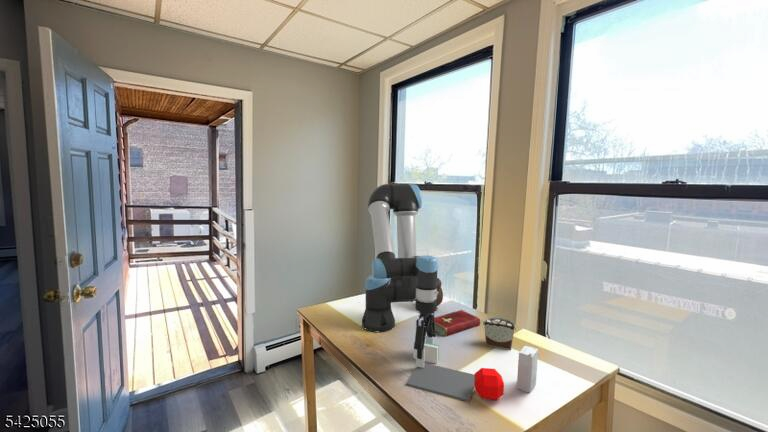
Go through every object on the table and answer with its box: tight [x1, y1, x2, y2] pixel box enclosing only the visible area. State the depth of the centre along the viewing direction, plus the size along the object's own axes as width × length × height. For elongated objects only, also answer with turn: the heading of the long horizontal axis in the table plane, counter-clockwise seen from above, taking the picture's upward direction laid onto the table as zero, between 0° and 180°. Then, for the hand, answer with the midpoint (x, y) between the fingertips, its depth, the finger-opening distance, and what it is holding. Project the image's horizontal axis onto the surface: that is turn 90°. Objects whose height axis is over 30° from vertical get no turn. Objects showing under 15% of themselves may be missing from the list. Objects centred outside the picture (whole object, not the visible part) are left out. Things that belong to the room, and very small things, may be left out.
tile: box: [413, 341, 440, 365], centre depth 121 cm, size 9×2×6 cm, turn 65°
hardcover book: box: [434, 309, 482, 338], centre depth 149 cm, size 12×21×4 cm, turn 122°
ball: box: [474, 367, 505, 401], centre depth 100 cm, size 8×8×8 cm
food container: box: [482, 316, 517, 351], centre depth 132 cm, size 12×6×10 cm, turn 65°
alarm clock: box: [436, 277, 444, 310], centre depth 169 cm, size 14×7×20 cm, turn 41°
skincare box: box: [516, 345, 539, 394], centre depth 104 cm, size 6×4×12 cm
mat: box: [405, 362, 475, 403], centre depth 108 cm, size 20×14×1 cm
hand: (424, 360), depth 119 cm, fingers open, 10 cm apart
